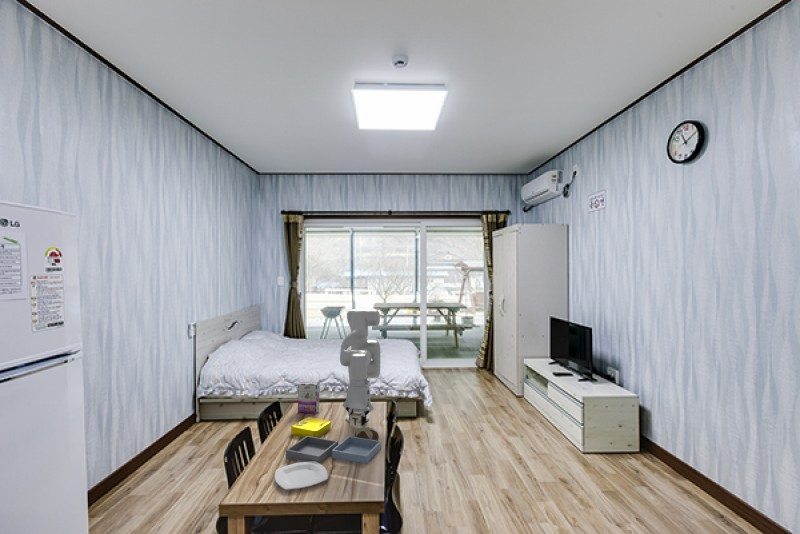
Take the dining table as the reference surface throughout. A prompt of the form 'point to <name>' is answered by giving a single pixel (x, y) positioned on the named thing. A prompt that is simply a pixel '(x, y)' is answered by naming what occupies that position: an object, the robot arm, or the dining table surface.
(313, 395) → the candy bar box
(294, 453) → the charcoal bin
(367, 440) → the slate bin
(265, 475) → the dining table surface
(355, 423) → the letter cube
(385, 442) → the dining table surface
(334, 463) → the dining table surface
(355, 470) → the dining table surface
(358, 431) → the bread
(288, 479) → the plate
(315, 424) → the element tile
